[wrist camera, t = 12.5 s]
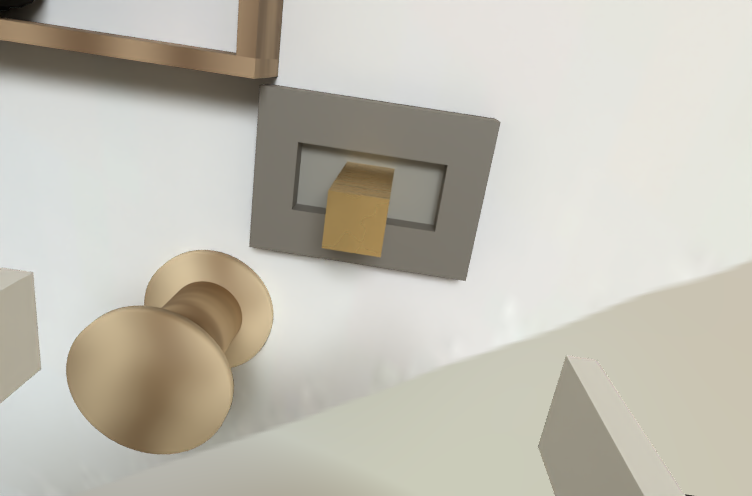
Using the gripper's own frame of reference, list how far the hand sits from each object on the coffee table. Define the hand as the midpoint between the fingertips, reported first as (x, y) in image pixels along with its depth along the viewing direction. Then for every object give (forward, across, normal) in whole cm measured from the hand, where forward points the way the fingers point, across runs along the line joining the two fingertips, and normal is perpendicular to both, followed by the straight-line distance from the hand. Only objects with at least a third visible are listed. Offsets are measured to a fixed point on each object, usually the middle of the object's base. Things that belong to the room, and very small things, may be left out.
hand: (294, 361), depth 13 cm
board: (+22, 0, 0) cm, 22 cm away
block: (+21, 0, 0) cm, 21 cm away
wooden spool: (+22, -10, -11) cm, 26 cm away
